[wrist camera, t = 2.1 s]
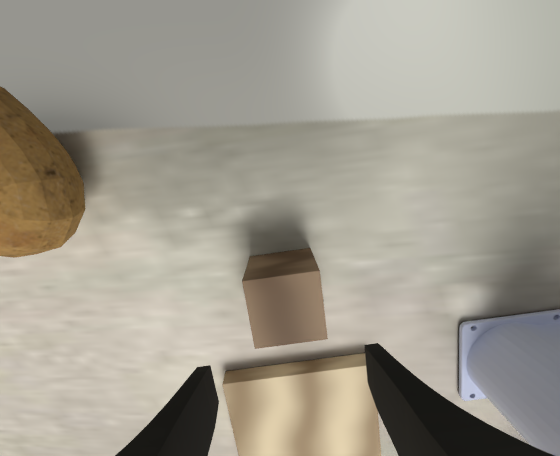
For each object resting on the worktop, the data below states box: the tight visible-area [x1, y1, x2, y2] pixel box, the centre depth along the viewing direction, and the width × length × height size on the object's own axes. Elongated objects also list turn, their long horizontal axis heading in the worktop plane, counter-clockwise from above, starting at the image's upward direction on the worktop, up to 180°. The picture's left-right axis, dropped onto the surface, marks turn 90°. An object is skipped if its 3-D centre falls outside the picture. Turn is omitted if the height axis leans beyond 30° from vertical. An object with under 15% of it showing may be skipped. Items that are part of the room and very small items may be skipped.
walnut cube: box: [242, 248, 328, 349], centre depth 20 cm, size 5×5×5 cm
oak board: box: [223, 353, 381, 456], centre depth 25 cm, size 13×19×2 cm
